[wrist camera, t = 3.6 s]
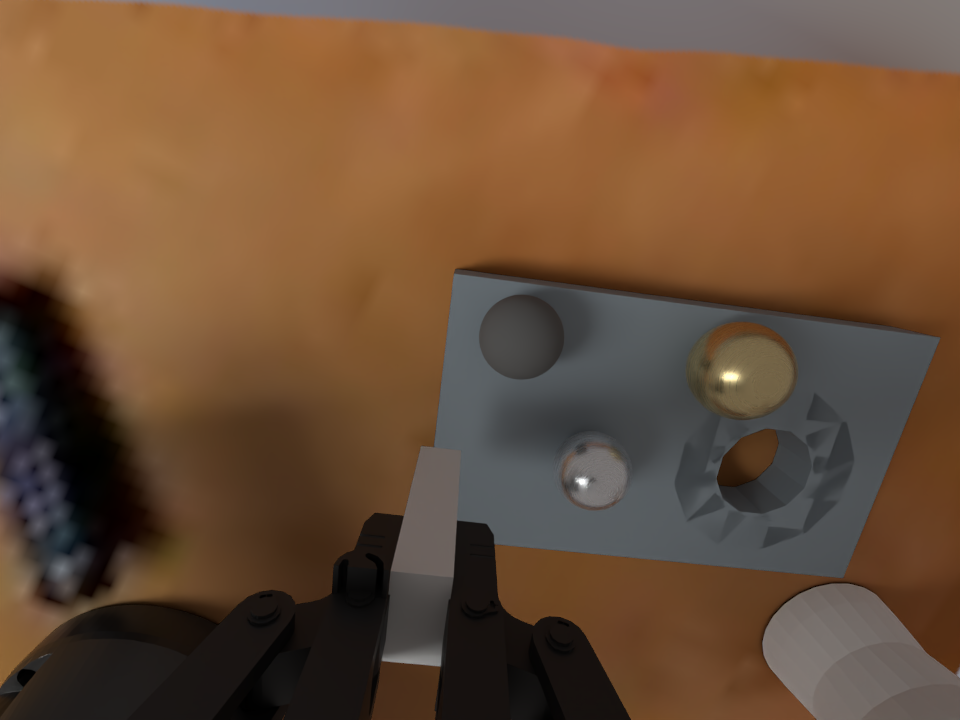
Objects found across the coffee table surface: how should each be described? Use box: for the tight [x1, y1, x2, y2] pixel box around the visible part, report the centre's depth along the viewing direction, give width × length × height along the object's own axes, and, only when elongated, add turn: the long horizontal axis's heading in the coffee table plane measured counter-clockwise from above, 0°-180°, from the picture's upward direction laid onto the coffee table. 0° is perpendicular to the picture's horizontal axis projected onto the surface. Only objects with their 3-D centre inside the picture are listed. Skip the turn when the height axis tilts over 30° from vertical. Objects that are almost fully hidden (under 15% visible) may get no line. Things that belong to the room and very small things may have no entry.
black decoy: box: [479, 295, 564, 380], centre depth 19 cm, size 3×3×3 cm
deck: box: [434, 269, 940, 578], centre depth 23 cm, size 22×13×2 cm, turn 82°
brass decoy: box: [685, 322, 798, 420], centre depth 19 cm, size 4×4×4 cm
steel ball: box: [553, 431, 633, 511], centre depth 20 cm, size 3×3×3 cm
